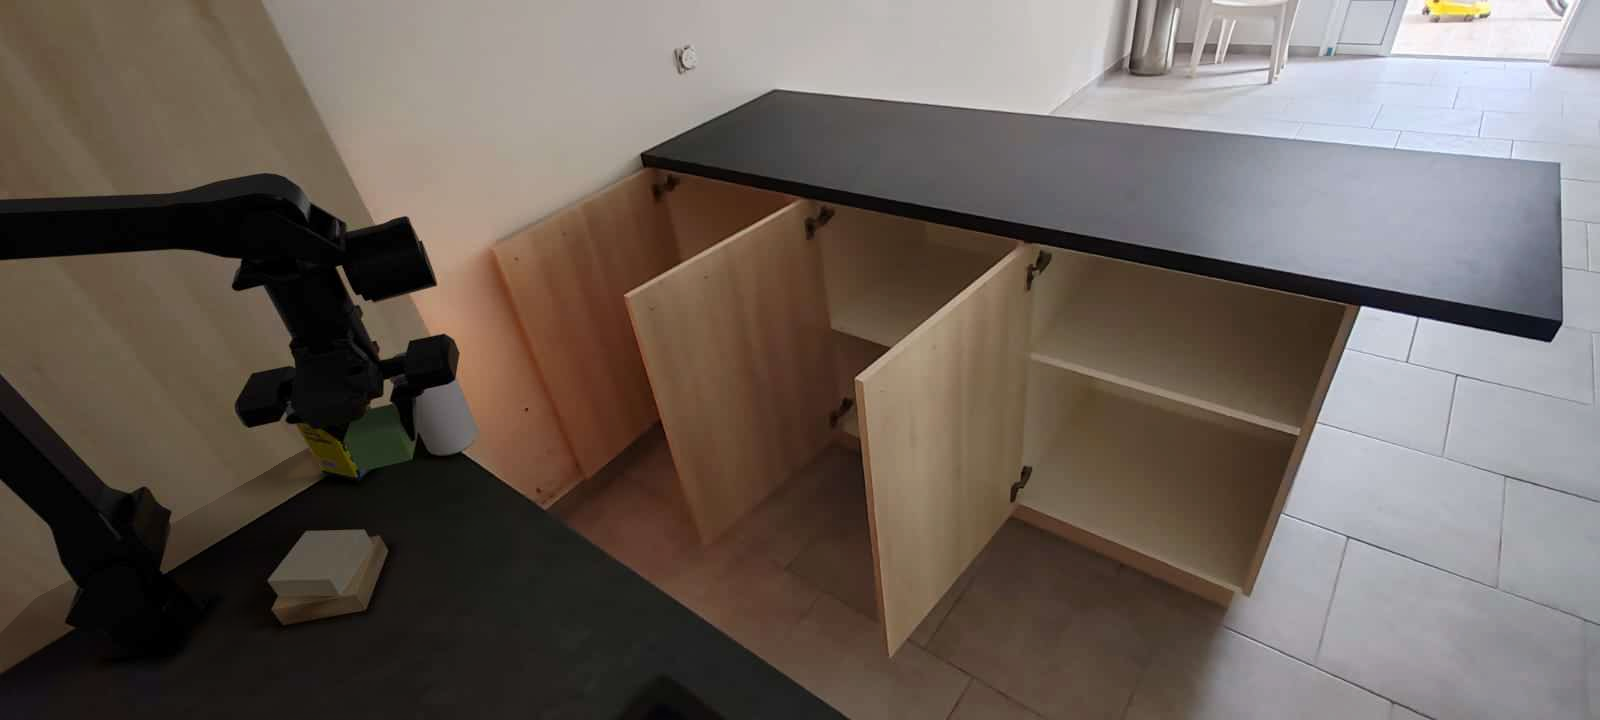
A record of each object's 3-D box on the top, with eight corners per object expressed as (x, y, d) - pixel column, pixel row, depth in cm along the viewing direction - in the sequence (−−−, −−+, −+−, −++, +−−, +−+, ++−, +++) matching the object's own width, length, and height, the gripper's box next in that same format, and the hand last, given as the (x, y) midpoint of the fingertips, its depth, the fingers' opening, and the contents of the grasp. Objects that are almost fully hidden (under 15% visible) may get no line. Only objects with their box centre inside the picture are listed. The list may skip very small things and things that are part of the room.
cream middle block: (278, 597, 74) (266, 580, 73) (316, 546, 79) (305, 530, 78) (340, 596, 74) (329, 579, 72) (374, 545, 79) (364, 529, 78)
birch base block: (282, 625, 74) (270, 609, 73) (312, 564, 81) (302, 548, 79) (365, 610, 75) (355, 594, 74) (388, 550, 82) (379, 535, 80)
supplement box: (359, 483, 91) (321, 413, 85) (323, 475, 93) (283, 406, 87) (395, 452, 96) (361, 383, 90) (360, 444, 98) (324, 377, 92)
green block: (359, 472, 74) (342, 441, 72) (368, 442, 78) (353, 412, 76) (412, 459, 75) (397, 429, 73) (418, 430, 79) (404, 400, 77)
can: (461, 459, 94) (427, 382, 87) (416, 455, 95) (380, 379, 88) (489, 427, 99) (459, 352, 92) (446, 424, 100) (413, 350, 93)
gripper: (171, 386, 59) (265, 523, 68) (416, 336, 63) (476, 472, 72) (218, 320, 68) (296, 449, 77) (431, 279, 72) (482, 406, 81)
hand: (387, 444), depth 77 cm, fingers closed on green block, 5 cm apart
